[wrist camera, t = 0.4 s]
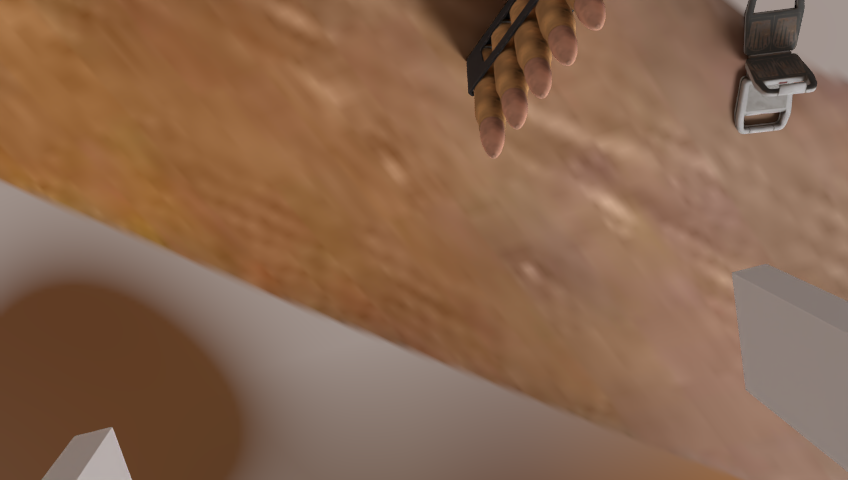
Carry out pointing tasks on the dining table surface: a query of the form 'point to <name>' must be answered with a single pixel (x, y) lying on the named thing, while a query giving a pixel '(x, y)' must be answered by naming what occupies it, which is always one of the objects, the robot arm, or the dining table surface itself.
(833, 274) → the dining table surface
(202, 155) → the dining table surface
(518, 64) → the ammunition clip
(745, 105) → the strap clip
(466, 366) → the dining table surface
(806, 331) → the robot arm
